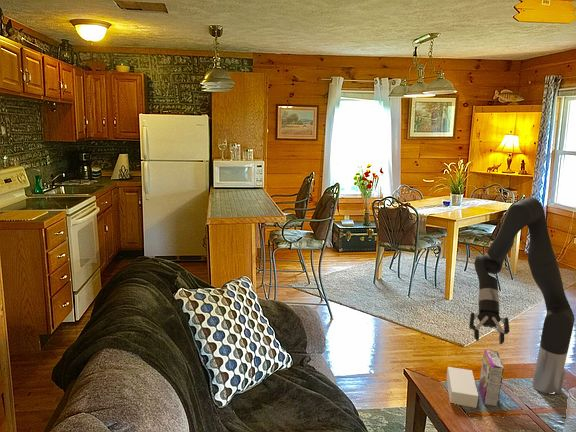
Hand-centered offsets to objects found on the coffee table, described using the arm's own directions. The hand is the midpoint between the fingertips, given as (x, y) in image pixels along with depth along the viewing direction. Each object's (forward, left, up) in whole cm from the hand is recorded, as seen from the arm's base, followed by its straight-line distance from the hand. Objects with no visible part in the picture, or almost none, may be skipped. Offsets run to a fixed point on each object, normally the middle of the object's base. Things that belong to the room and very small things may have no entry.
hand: (489, 342), depth 180 cm
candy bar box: (0, +10, -17) cm, 20 cm away
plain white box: (+9, +10, -17) cm, 22 cm away
